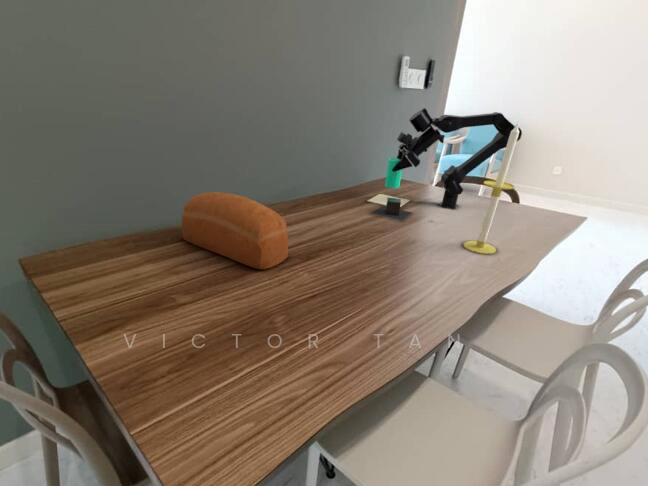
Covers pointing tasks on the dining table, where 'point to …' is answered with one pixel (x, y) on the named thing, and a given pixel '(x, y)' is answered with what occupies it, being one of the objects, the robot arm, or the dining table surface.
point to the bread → (236, 229)
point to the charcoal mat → (400, 217)
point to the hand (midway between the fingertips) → (391, 169)
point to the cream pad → (383, 199)
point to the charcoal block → (393, 206)
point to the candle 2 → (494, 198)
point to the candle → (393, 174)
